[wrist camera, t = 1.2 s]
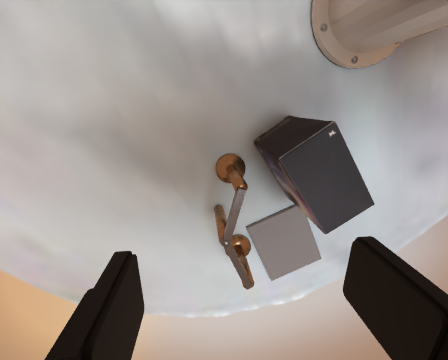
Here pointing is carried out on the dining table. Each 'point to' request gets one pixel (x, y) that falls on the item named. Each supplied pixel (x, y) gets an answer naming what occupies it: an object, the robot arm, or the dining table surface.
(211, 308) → the dining table surface
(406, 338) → the robot arm
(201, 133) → the dining table surface
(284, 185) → the small box
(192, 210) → the dining table surface
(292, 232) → the rubber pad
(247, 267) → the bent rod
